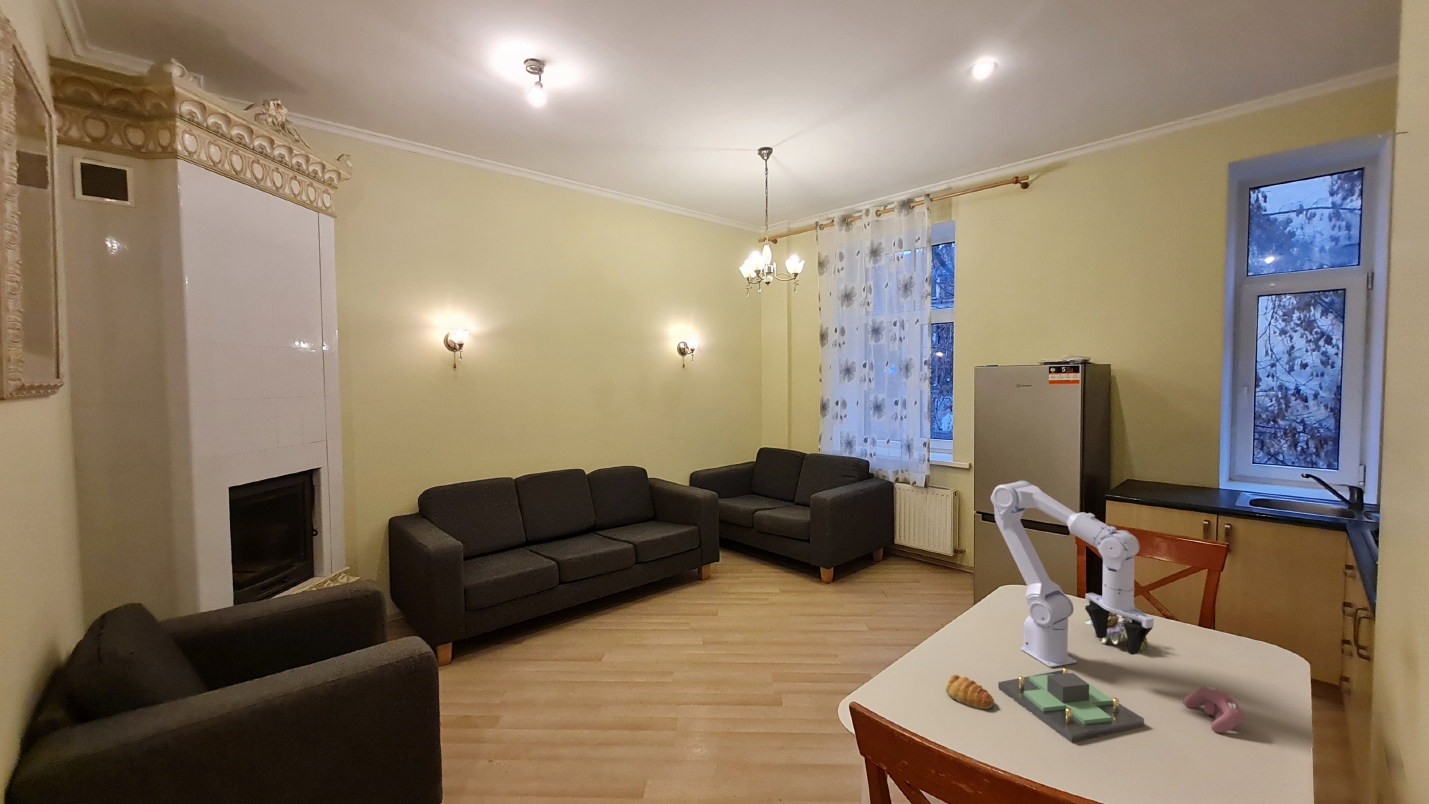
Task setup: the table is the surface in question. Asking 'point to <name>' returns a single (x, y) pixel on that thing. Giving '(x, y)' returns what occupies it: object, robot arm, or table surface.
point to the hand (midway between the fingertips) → (1117, 645)
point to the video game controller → (1217, 708)
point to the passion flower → (1115, 629)
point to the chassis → (1064, 718)
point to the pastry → (968, 692)
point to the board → (1077, 708)
